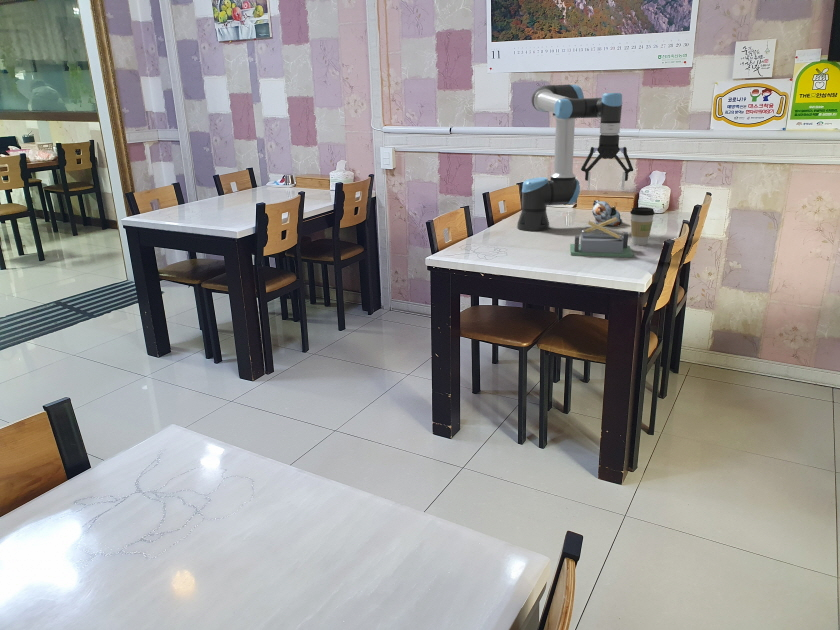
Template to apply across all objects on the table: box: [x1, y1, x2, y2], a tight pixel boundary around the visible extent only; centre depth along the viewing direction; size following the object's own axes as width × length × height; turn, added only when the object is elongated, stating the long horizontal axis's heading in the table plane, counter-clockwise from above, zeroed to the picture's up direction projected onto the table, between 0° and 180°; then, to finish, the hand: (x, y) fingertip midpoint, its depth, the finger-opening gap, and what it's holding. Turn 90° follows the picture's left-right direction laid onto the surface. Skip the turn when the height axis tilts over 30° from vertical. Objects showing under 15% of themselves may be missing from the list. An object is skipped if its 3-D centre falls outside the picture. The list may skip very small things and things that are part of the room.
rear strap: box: [581, 217, 617, 235], centre depth 269 cm, size 15×4×2 cm, turn 78°
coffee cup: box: [629, 206, 656, 246], centre depth 277 cm, size 10×10×15 cm
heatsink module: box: [569, 231, 634, 258], centre depth 266 cm, size 24×15×7 cm, turn 78°
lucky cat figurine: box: [591, 199, 624, 227], centre depth 317 cm, size 15×12×14 cm
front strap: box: [587, 220, 623, 241], centre depth 260 cm, size 15×4×2 cm, turn 79°
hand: (605, 189), depth 264 cm, fingers open, 13 cm apart
